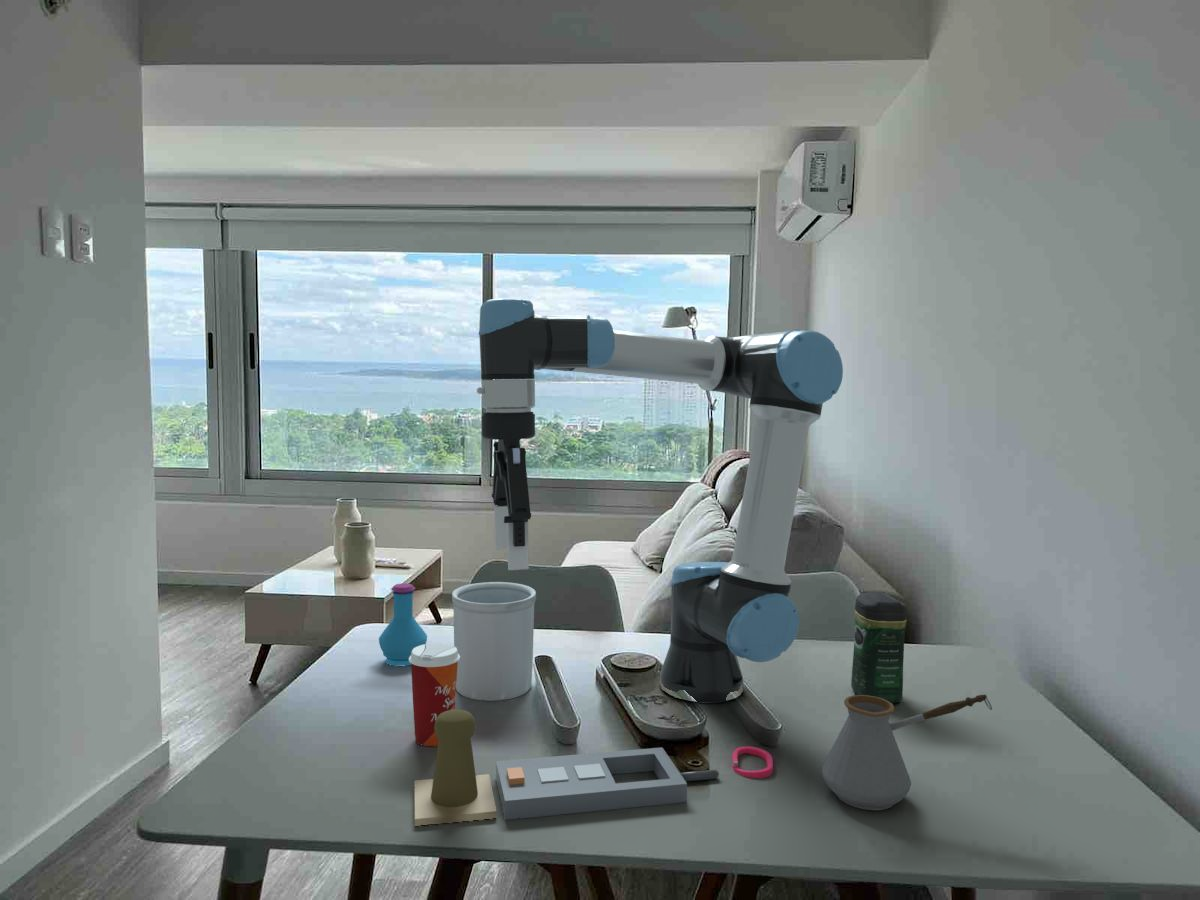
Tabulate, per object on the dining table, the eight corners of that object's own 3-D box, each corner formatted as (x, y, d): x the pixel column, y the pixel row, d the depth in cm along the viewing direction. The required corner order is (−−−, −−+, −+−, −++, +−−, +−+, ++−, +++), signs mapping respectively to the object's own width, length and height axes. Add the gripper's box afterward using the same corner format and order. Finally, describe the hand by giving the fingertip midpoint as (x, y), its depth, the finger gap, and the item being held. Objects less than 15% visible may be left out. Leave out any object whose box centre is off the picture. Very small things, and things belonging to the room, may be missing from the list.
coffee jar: (909, 706, 142) (914, 601, 141) (864, 706, 142) (869, 601, 140) (887, 686, 152) (892, 587, 150) (845, 685, 152) (850, 587, 150)
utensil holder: (523, 706, 139) (524, 605, 138) (439, 699, 141) (440, 599, 140) (542, 676, 153) (544, 584, 152) (466, 670, 156) (467, 579, 154)
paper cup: (448, 752, 121) (448, 660, 120) (399, 747, 122) (399, 655, 121) (467, 731, 129) (467, 643, 127) (421, 725, 130) (421, 639, 129)
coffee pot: (828, 814, 105) (833, 701, 104) (814, 773, 117) (819, 670, 116) (1001, 827, 103) (1008, 712, 102) (970, 783, 115) (976, 679, 113)
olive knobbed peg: (456, 779, 111) (457, 700, 110) (487, 794, 107) (488, 712, 106) (421, 796, 106) (421, 713, 105) (451, 812, 102) (452, 726, 101)
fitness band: (732, 753, 124) (732, 743, 123) (771, 756, 123) (771, 746, 123) (732, 778, 116) (732, 768, 115) (774, 782, 115) (774, 771, 115)
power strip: (704, 760, 120) (705, 738, 120) (733, 797, 109) (734, 773, 109) (495, 778, 113) (496, 755, 113) (504, 820, 102) (505, 794, 102)
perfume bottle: (436, 658, 162) (437, 584, 161) (402, 672, 154) (402, 593, 153) (403, 650, 167) (403, 577, 165) (368, 662, 159) (368, 586, 158)
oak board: (489, 781, 112) (489, 774, 112) (496, 818, 103) (496, 811, 103) (414, 787, 110) (414, 780, 110) (414, 826, 100) (414, 819, 100)
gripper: (472, 407, 126) (475, 542, 128) (492, 414, 102) (496, 581, 104) (520, 406, 128) (522, 539, 130) (551, 413, 104) (553, 576, 106)
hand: (510, 558), depth 117 cm, fingers open, 13 cm apart
